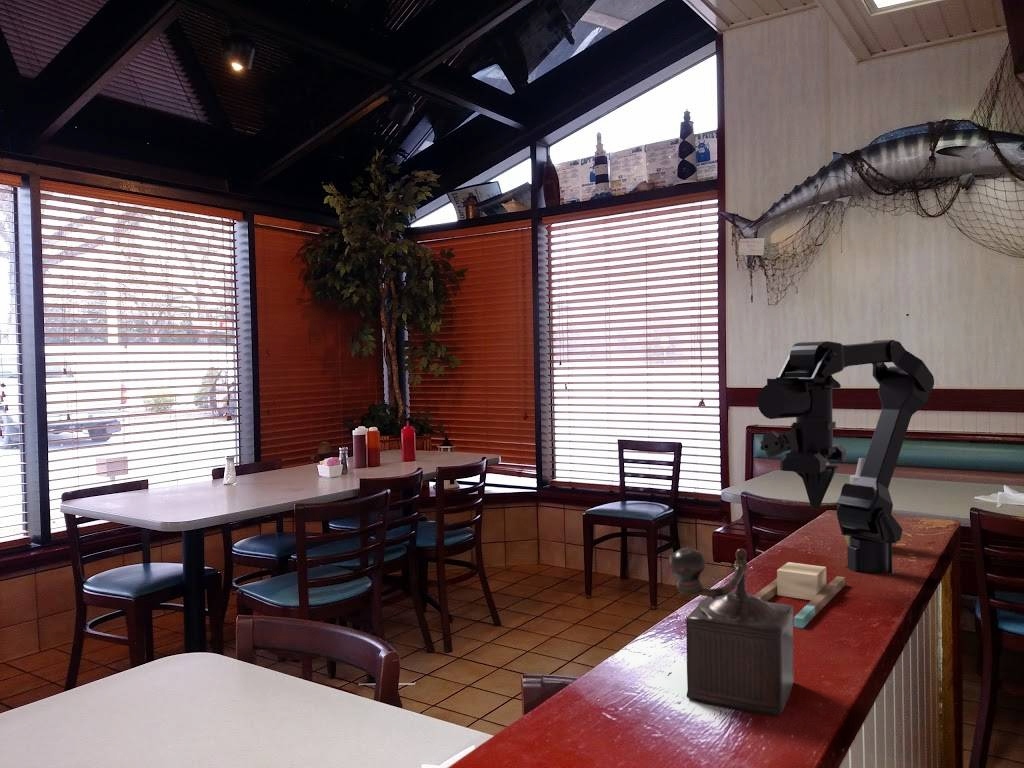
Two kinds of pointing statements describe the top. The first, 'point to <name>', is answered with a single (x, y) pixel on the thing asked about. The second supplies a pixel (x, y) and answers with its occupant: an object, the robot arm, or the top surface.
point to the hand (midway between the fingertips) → (815, 508)
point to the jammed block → (800, 580)
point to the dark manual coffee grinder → (735, 641)
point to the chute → (813, 605)
